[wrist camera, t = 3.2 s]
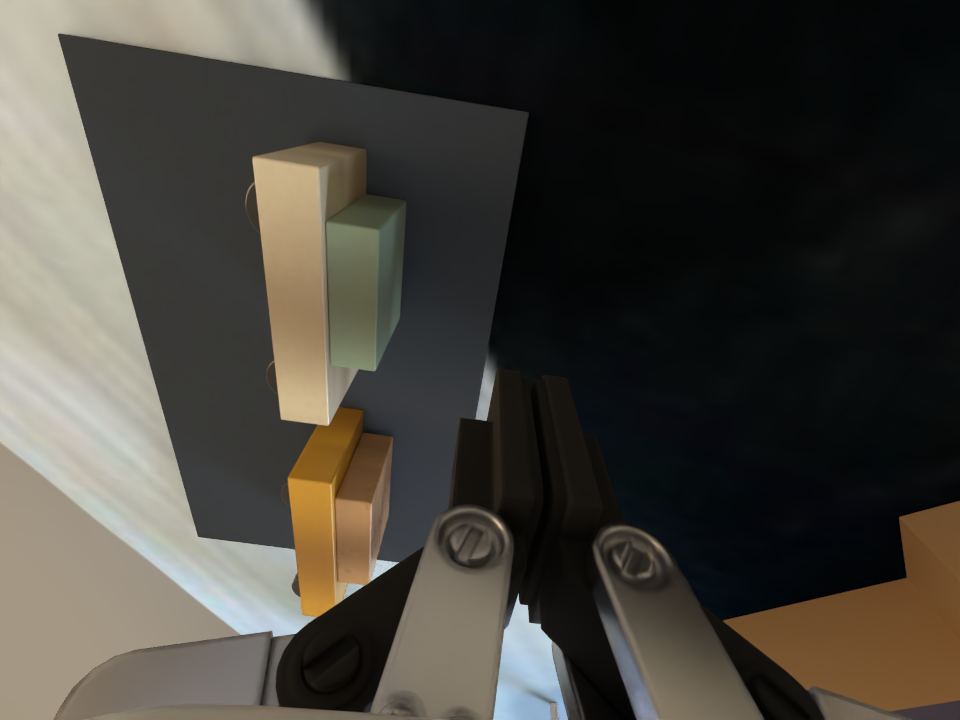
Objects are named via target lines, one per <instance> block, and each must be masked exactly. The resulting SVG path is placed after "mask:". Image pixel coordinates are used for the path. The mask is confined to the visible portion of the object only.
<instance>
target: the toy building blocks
mask: <svg viewBox="0 0 960 720" xmlns="http://www.w3.org/2000/svg"><path fill="white" fill-rule="evenodd" d="M899 522H900V530H901V537H902V545H903V552H904V560H905V567H906V575H907V578H904V579H899V580H895V581H891V582H887V583H882V584H878V585H874V586H869V587H865V588H861V589H856V590H852V591H848V592H843V593H839V594H835V595H831V596H826V597H822V598H818V599H813V600H809V601H805V602H800V603H796V604H792V605H787V606H783V607H779V608H775V609H770V610H766V611H762V612H757V613H753V614H749V615H744V616H740V617H736V618H731V619H727V620H723V622H725V623H726V624H727V625H728V626H730V627H731V628H732V629H733V630H735V631H736V632H737V633H739V634H740V635H741V636H742V637H744V638H745V639H746V640H747V641H749V642H750V643H751V644H753V645H754V646H755V647H756V648H758V649H759V650H760V651H761V652H763V653H764V654H765V655H766V656H768V657H769V658H770V659H772V660H773V661H774V662H775V663H777V664H778V665H779V666H780V667H782V668H783V669H784V670H786V671H787V672H788V673H789V674H790V675H791V676H792V677H793V678H794V679H796V680H797V681H798V682H799V683H800V684H801V685H802V686H803V687H804V688H805V690H809V689H810V688H811V687H812V686H816V687H819V688H822V689H825V690H828V691H831V692H834V693H837V694H840V695H843V696H846V697H849V698H852V699H854V700H857V701H860V702H863V703H866V704H869V705H872V706H875V707H878V708H881V709H884V710H887V711H890V712H892V713H895V714H898V715H901V716H904V717H907V718H910V719H913V720H960V501H957V502H953V503H949V504H946V505H942V506H938V507H934V508H931V509H927V510H923V511H919V512H916V513H912V514H908V515H905V516H901V517H899Z"/></svg>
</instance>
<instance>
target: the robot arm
mask: <svg viewBox="0 0 960 720" xmlns="http://www.w3.org/2000/svg"><path fill="white" fill-rule="evenodd" d="M518 593H519V601H520V604H523V605H528V611H529V623H537V624H541V629H542V630H543V631H544V632H545V634H546V635H547V636H548V637H549V638H550V639H551V640H552V641H553V642H552V653H553V660H554V664H555V668H556V672H557V676H558V680H559V684H560V688H561V692H562V696H563V700H564V704H565V708H566V713H567V717H568V720H913V719H910V718H907V717H904V716H901V715H898V714H895V713H892V712H890V711H887V710H884V709H881V708H878V707H875V706H872V705H869V704H866V703H863V702H860V701H857V700H854V699H852V698H849V697H846V696H843V695H840V694H837V693H834V692H831V691H828V690H825V689H822V688H819V687H816V686H812V687H811V688H810V689H809V690H805V688H804V687H803V686H802V685H801V684H800V683H799V682H798V681H797V680H796V679H794V678H793V677H792V676H791V675H790V674H789V673H788V672H787V671H786V670H784V669H783V668H782V667H780V666H779V665H778V664H777V663H775V662H774V661H773V660H772V659H770V658H769V657H768V656H766V655H765V654H764V653H763V652H761V651H760V650H759V649H758V648H756V647H755V646H754V645H753V644H751V643H750V642H749V641H747V640H746V639H745V638H744V637H742V636H741V635H740V634H739V633H737V632H736V631H735V630H733V629H732V628H731V627H730V626H728V625H727V624H726V623H725V622H723V621H722V620H721V619H720V618H718V617H717V616H716V615H714V614H713V613H712V612H711V611H709V610H708V609H707V608H706V607H704V606H703V605H702V604H700V603H699V602H698V600H697V598H696V596H695V594H694V593H693V591H692V589H691V587H690V585H689V584H688V582H687V580H686V578H685V576H684V575H683V573H682V571H681V569H680V567H679V566H678V564H677V562H676V560H675V559H674V557H673V555H672V554H671V552H670V551H669V550H668V548H667V547H666V545H665V544H664V543H663V542H662V541H660V540H659V539H658V538H657V537H656V536H655V535H653V534H652V533H650V532H649V531H647V530H645V529H644V528H641V527H639V526H636V525H633V524H631V523H624V521H623V518H622V515H621V512H620V509H619V506H618V503H617V499H616V496H615V493H614V490H613V487H612V484H611V481H610V477H609V474H608V471H607V468H606V465H605V462H604V459H603V456H602V452H601V449H600V446H599V443H598V440H597V438H596V437H595V436H594V435H591V434H583V433H582V429H581V426H580V422H579V419H578V415H577V411H576V408H575V404H574V401H573V397H572V394H571V390H570V386H569V383H568V380H567V378H565V377H557V376H550V375H543V376H542V378H541V380H534V381H533V384H532V388H531V392H530V387H529V380H528V378H521V373H520V371H513V370H505V369H497V372H496V376H495V381H494V386H493V392H492V397H491V402H490V407H489V412H488V418H487V421H482V420H474V419H467V418H460V421H459V427H458V433H457V440H456V447H455V454H454V461H453V469H452V478H451V487H450V497H449V506H448V509H447V510H445V511H443V512H442V513H441V514H440V515H439V516H438V517H437V518H436V519H435V521H434V523H433V525H432V526H431V528H430V532H429V535H428V538H427V541H426V544H425V546H424V547H422V548H421V549H419V550H418V551H416V552H415V553H413V554H412V555H410V556H409V557H407V558H406V559H404V560H403V561H401V562H400V563H398V564H397V565H395V566H394V567H392V568H391V569H389V570H388V571H386V572H385V573H383V574H382V575H380V576H379V577H377V578H376V579H374V580H373V581H371V582H370V583H368V584H367V585H365V586H364V587H362V588H361V589H359V590H358V591H356V592H355V593H353V594H352V595H350V596H349V597H347V598H346V599H344V600H343V601H341V602H340V603H338V604H337V605H335V606H334V607H332V608H331V609H329V610H328V611H326V612H325V613H323V614H322V615H320V616H319V617H317V618H316V619H314V620H313V621H311V622H310V623H308V624H307V625H306V626H305V627H304V628H302V629H301V630H300V631H299V632H298V633H297V634H292V635H285V636H278V637H273V633H272V631H269V632H261V633H254V634H247V635H240V636H232V637H225V638H218V639H211V640H203V641H197V642H189V643H182V644H174V645H168V646H160V647H153V648H146V649H138V650H133V651H130V652H127V653H123V654H120V655H117V656H114V657H112V658H111V659H109V660H107V661H106V662H104V663H102V664H101V665H99V666H97V667H95V668H94V669H93V670H91V671H90V672H89V673H88V674H87V675H86V676H85V677H84V678H83V679H82V680H81V681H79V683H77V685H75V686H74V687H73V688H72V690H71V691H70V693H69V694H68V696H67V697H66V699H65V700H64V702H63V704H62V705H61V706H60V708H59V710H58V712H57V714H56V716H55V718H54V720H493V716H494V708H495V700H496V692H497V683H498V675H499V667H500V659H501V650H502V642H503V634H504V629H505V628H506V627H507V626H508V625H509V622H510V618H511V615H512V612H513V609H514V606H515V602H516V599H517V596H518Z"/></svg>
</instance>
